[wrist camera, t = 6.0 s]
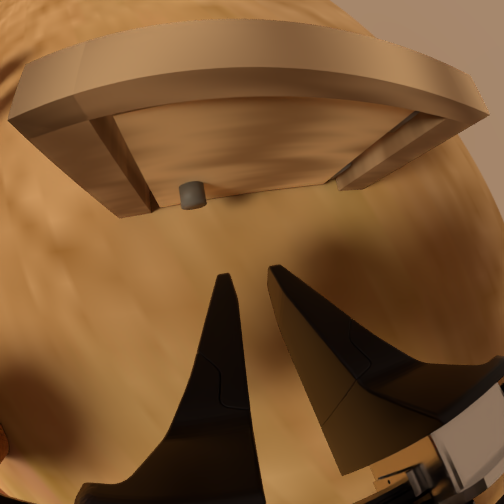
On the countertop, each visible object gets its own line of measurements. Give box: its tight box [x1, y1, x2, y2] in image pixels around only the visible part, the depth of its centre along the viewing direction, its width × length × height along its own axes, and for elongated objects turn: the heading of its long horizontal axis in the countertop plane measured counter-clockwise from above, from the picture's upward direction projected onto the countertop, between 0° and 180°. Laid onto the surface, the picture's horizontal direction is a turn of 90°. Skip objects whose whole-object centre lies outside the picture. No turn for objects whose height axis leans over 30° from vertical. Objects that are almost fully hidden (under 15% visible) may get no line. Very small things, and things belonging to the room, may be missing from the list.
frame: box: [8, 19, 490, 218], centre depth 11 cm, size 16×2×11 cm, turn 100°
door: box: [113, 96, 420, 210], centre depth 12 cm, size 11×2×10 cm, turn 101°
